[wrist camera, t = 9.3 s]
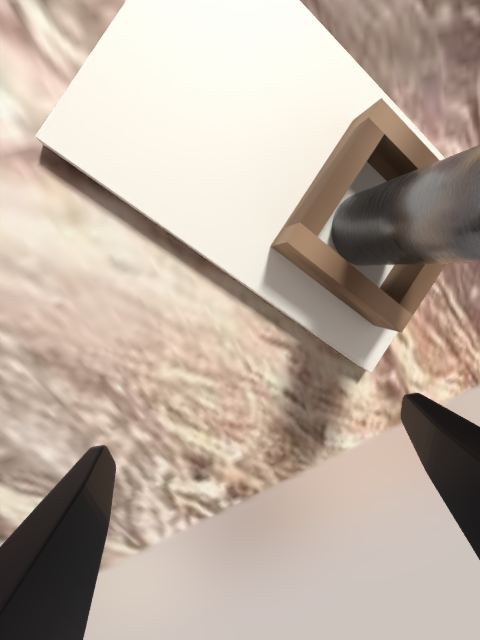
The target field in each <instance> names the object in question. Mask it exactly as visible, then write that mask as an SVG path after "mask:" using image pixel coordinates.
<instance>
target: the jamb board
mask: <svg viewBox="0 0 480 640" xmlns="http://www.w3.org/2000/svg"><path fill="white" fill-rule="evenodd" d="M381 98H382V99H383V100H384V101H385V102H386V103H387V104H388V105H389V106H390V108H391V109H392V110H393V111H394V112H395V113H396V114H397V115H398V116H399V117H400V118H401V119H402V120H403V122H404V123H405V124H406V125H407V126H408V127H409V128H410V129H411V130H412V131H413V132H414V133H415V134H416V135H417V137H418V138H419V139H420V140H421V141H422V142H423V143H424V144H425V145H426V146H427V147H428V148H429V149H430V151H431V152H432V153H433V154H434V155H435V156H436V157H437V158H438V159H439V160H443V159H445V158H444V157H443V156H442V155H441V153H440V152H439V151H438V150H437V149H436V148H435V147H434V146H433V145H432V144H431V143H430V142H429V140H428V139H427V138H426V137H425V136H424V135H423V134H422V133H421V132H420V131H419V130H418V128H417V127H416V126H415V125H414V124H413V123H412V122H411V121H410V120H409V119H408V118H407V117H406V115H405V114H404V113H403V112H402V111H401V110H400V109H399V108H398V107H397V106H396V105H395V104H394V102H393V101H392V100H391V99H390V98H389V97H388V96H387V95H386V94H385V93H384V92H383V91H382V89H381V88H380V87H379V86H378V85H377V84H376V83H375V82H374V81H373V80H372V79H371V77H370V76H369V75H368V74H367V73H366V72H365V71H364V70H363V69H362V68H361V67H360V66H359V64H358V63H357V62H356V61H355V60H354V59H353V58H352V57H351V56H350V55H349V54H348V53H347V51H346V50H345V49H344V48H343V47H342V46H341V45H340V44H339V43H338V42H337V41H336V40H335V38H334V37H333V36H332V35H331V34H330V33H329V32H328V31H327V30H326V29H325V28H324V26H323V25H322V24H321V23H320V22H319V21H318V20H317V19H316V18H315V17H314V16H313V15H312V13H311V12H310V11H309V10H308V9H307V8H306V7H305V6H304V5H303V4H302V3H301V2H300V0H126V2H125V3H124V5H123V6H122V8H121V9H120V11H119V12H118V14H117V15H116V17H115V18H114V20H113V21H112V23H111V24H110V26H109V27H108V29H107V30H106V32H105V33H104V35H103V36H102V38H101V39H100V41H99V42H98V44H97V45H96V47H95V48H94V50H93V51H92V52H91V54H90V55H89V57H88V58H87V60H86V61H85V63H84V64H83V66H82V67H81V69H80V70H79V72H78V73H77V75H76V76H75V78H74V79H73V81H72V82H71V84H70V85H69V87H68V88H67V90H66V91H65V93H64V94H63V96H62V97H61V99H60V100H59V102H58V103H57V105H56V106H55V108H54V109H53V110H52V112H51V113H50V115H49V116H48V118H47V119H46V121H45V122H44V124H43V125H42V127H41V128H40V130H39V131H38V133H37V134H36V136H35V137H36V138H37V139H38V140H39V141H40V142H41V143H42V144H43V145H44V146H46V147H47V148H48V149H50V150H51V151H53V152H54V153H56V154H57V155H58V156H60V157H61V158H63V159H64V160H66V161H67V162H68V163H70V164H71V165H73V166H74V167H76V168H77V169H78V170H80V171H81V172H83V173H84V174H85V175H87V176H88V177H90V178H91V179H93V180H94V181H95V182H97V183H98V184H100V185H101V186H103V187H104V188H105V189H107V190H108V191H110V192H111V193H113V194H114V195H115V196H117V197H118V198H120V199H121V200H123V201H124V202H125V203H127V204H128V205H130V206H131V207H133V208H134V209H135V210H137V211H138V212H140V213H141V214H142V215H144V216H145V217H147V218H148V219H150V220H151V221H152V222H154V223H155V224H157V225H158V226H160V227H161V228H162V229H164V230H165V231H167V232H168V233H170V234H171V235H172V236H174V237H175V238H177V239H178V240H180V241H181V242H182V243H184V244H185V245H187V246H188V247H189V248H191V249H192V250H194V251H195V252H197V253H198V254H199V255H201V256H202V257H204V258H205V259H207V260H208V261H209V262H211V263H212V264H214V265H215V266H217V267H218V268H219V269H221V270H222V271H224V272H225V273H227V274H228V275H229V276H231V277H232V278H234V279H235V280H237V281H238V282H239V283H241V284H242V285H244V286H245V287H246V288H248V289H249V290H251V291H252V292H254V293H255V294H256V295H258V296H259V297H261V298H262V299H264V300H265V301H266V302H268V303H269V304H271V305H272V306H274V307H275V308H276V309H278V310H279V311H281V312H282V313H284V314H285V315H286V316H288V317H289V318H291V319H292V320H293V321H295V322H296V323H298V324H299V325H301V326H302V327H303V328H305V329H306V330H308V331H309V332H311V333H312V334H313V335H315V336H316V337H318V338H319V339H321V340H322V341H323V342H325V343H326V344H328V345H329V346H331V347H332V348H333V349H335V350H336V351H338V352H339V353H341V354H342V355H343V356H345V357H346V358H348V359H349V360H350V361H352V362H353V363H355V364H356V365H358V366H359V367H360V368H362V369H364V370H366V371H368V372H370V373H371V372H372V371H373V369H374V368H375V366H376V365H377V363H378V362H379V360H380V358H381V357H382V355H383V354H384V352H385V351H386V349H387V348H388V346H389V344H390V343H391V341H392V340H393V338H394V337H395V335H396V334H397V331H393V330H389V329H385V328H381V327H377V326H374V325H373V324H371V323H370V322H369V321H367V320H366V319H365V318H363V317H362V316H361V315H359V314H358V313H357V312H356V311H354V310H353V309H352V308H350V307H349V306H348V305H346V304H345V303H344V302H343V301H341V300H340V299H339V298H337V297H336V296H335V295H333V294H332V293H331V292H330V291H328V290H327V289H326V288H324V287H323V286H322V285H320V284H319V283H318V282H317V281H315V280H314V279H313V278H311V277H310V276H309V275H307V274H306V273H305V272H304V271H302V270H301V269H300V268H298V267H297V266H296V265H294V264H293V263H292V262H291V261H289V260H288V259H287V258H285V257H284V256H283V255H281V254H280V253H279V252H278V251H276V250H275V249H274V248H272V247H271V244H272V243H273V241H274V240H275V238H276V237H277V235H278V234H279V232H280V231H281V229H282V228H283V226H284V224H285V223H286V221H287V220H288V218H289V217H290V215H291V214H292V212H293V211H294V209H295V208H296V206H297V205H298V203H299V202H300V200H301V199H302V197H303V196H304V194H305V192H306V191H307V189H308V188H309V186H310V185H311V183H312V182H313V180H314V179H315V177H316V176H317V174H318V173H319V171H320V170H321V168H322V167H323V165H324V163H325V162H326V160H327V159H328V157H329V156H330V154H331V153H332V151H333V150H334V148H335V147H336V145H337V144H338V142H339V141H340V139H341V138H342V136H343V135H344V133H345V131H346V130H347V128H348V127H349V125H350V124H351V122H352V121H353V120H354V119H355V118H356V117H358V116H359V115H360V114H362V113H363V112H364V111H365V110H367V109H368V108H369V107H371V106H372V105H373V104H374V103H376V102H377V101H378V100H379V99H381ZM384 182H387V181H386V180H385V179H384V178H383V177H382V176H381V175H380V174H379V173H378V172H377V171H376V170H375V169H374V168H373V167H372V166H371V165H370V164H369V163H368V162H366V163H365V165H364V166H363V168H362V169H361V171H360V172H359V174H358V175H357V177H356V178H355V180H354V181H353V183H352V185H351V186H350V188H349V189H348V191H347V192H346V194H345V195H344V197H343V198H342V200H341V201H340V203H339V204H338V206H337V207H336V209H335V211H334V212H333V214H332V215H331V217H330V218H329V220H328V221H327V223H326V224H325V226H324V227H323V229H322V230H321V232H320V233H319V235H318V238H320V239H321V240H322V241H323V242H324V243H326V244H327V245H328V246H329V247H330V248H332V249H333V250H334V251H335V252H337V250H336V248H335V246H334V243H333V239H332V221H333V217H334V215H335V212H336V210H337V209H338V207H339V206H340V204H341V203H342V202H343V201H344V200H345V199H347V198H348V197H350V196H351V195H354V194H356V193H359V192H361V191H364V190H366V189H369V188H371V187H374V186H376V185H379V184H382V183H384ZM337 253H338V252H337ZM338 254H339V253H338ZM339 255H340V254H339ZM350 264H351V263H350ZM351 265H352V266H354V267H355V268H356V269H357V270H358V271H360V272H361V273H362V274H363V275H364V276H366V277H367V278H368V279H369V280H371V281H372V282H373V283H374V284H375V285H377V286H378V287H379V288H380V286H381V285H382V283H383V282H384V280H385V279H386V277H387V276H388V274H389V272H390V271H391V269H392V268H393V266H394V265H369V266H359V265H354V264H351Z"/></svg>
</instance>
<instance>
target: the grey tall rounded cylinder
mask: <svg viewBox="0 0 480 640" xmlns="http://www.w3.org/2000/svg"><path fill="white" fill-rule="evenodd" d="M332 239H333V243H334V246H335V248H336V250H337V252H338V253H339V254H340V256H341V257H343V258H344V259H345V260H346V261H347V262H349V263H351V264H354V265H359V266H369V265H409V264H448V263H480V145H479V146H476V147H474V148H471V149H469V150H466V151H463V152H461V153H458V154H456V155H453V156H451V157H448V158H446V159H443V160H440V161H438V162H435V163H433V164H430V165H428V166H425V167H423V168H420V169H417V170H415V171H412V172H410V173H407V174H405V175H402V176H399V177H397V178H394V179H392V180H389V181H387V182H384V183H382V184H379V185H376V186H374V187H371V188H369V189H366V190H364V191H361V192H359V193H356V194H354V195H351V196H350V197H348V198H347V199H345V200H344V201H343V202H342V203H341V204H340V206H339V207H338V209H337V210H336V212H335V215H334V217H333V221H332Z"/></svg>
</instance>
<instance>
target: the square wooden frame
mask: <svg viewBox="0 0 480 640" xmlns="http://www.w3.org/2000/svg"><path fill="white" fill-rule="evenodd" d="M438 161H440V160H439V159H438V158H437V157H436V156H435V155H434V154H433V153H432V152H431V151H430V149H429V148H428V147H427V146H426V145H425V144H424V143H423V142H422V141H421V140H420V139H419V138H418V137H417V135H416V134H415V133H414V132H413V131H412V130H411V129H410V128H409V127H408V126H407V125H406V124H405V123H404V122H403V120H402V119H401V118H400V117H399V116H398V115H397V114H396V113H395V112H394V111H393V110H392V109H391V108H390V106H389V105H388V104H387V103H386V102H385V101H384V100H383V99H382V98H381V99H379V100H378V101H377V102H376V103H374V104H373V105H372V106H371V107H369V108H368V109H367V110H365V111H364V112H363V113H362V114H360V115H359V116H358V117H356V118H355V119H354V120H353V121H352V122H351V124H350V125H349V127H348V128H347V130H346V131H345V133H344V135H343V136H342V138H341V139H340V141H339V142H338V144H337V145H336V147H335V148H334V150H333V151H332V153H331V154H330V156H329V157H328V159H327V160H326V162H325V163H324V165H323V167H322V168H321V170H320V171H319V173H318V174H317V176H316V177H315V179H314V180H313V182H312V183H311V185H310V186H309V188H308V189H307V191H306V192H305V194H304V196H303V197H302V199H301V200H300V202H299V203H298V205H297V206H296V208H295V209H294V211H293V212H292V214H291V215H290V217H289V218H288V220H287V221H286V223H285V224H284V226H283V228H282V229H281V231H280V232H279V234H278V235H277V237H276V238H275V240H274V241H273V243H272V244H271V247H272V248H274V249H275V250H276V251H278V252H279V253H280V254H281V255H283V256H284V257H285V258H287V259H288V260H289V261H291V262H292V263H293V264H294V265H296V266H297V267H298V268H300V269H301V270H302V271H304V272H305V273H306V274H307V275H309V276H310V277H311V278H313V279H314V280H315V281H317V282H318V283H319V284H320V285H322V286H323V287H324V288H326V289H327V290H328V291H330V292H331V293H332V294H333V295H335V296H336V297H337V298H339V299H340V300H341V301H343V302H344V303H345V304H346V305H348V306H349V307H350V308H352V309H353V310H354V311H356V312H357V313H358V314H359V315H361V316H362V317H363V318H365V319H366V320H367V321H369V322H370V323H371V324H373V325H374V326H377V327H381V328H385V329H389V330H393V331H397V332H402V331H403V330H404V328H405V327H406V325H407V324H408V322H409V320H410V319H411V317H412V316H413V314H414V313H415V311H416V310H417V308H418V307H419V305H420V303H421V302H422V300H423V299H424V297H425V296H426V294H427V293H428V291H429V290H430V288H431V286H432V285H433V283H434V282H435V280H436V279H437V277H438V276H439V274H440V272H441V271H442V269H443V268H444V266H445V265H446V264H409V265H394V266H393V268H392V269H391V271H390V272H389V274H388V276H387V277H386V279H385V280H384V282H383V283H382V285H381V286H380V288H379V287H378V286H377V285H375V284H374V283H373V282H372V281H371V280H369V279H368V278H367V277H366V276H364V275H363V274H362V273H361V272H360V271H358V270H357V269H356V268H355V267H354V266H352V265H351V264H350V263H349V262H347V261H346V260H345V259H344V258H343V257H341V256H340V255H339V254H338V253H337V252H335V251H334V250H333V249H332V248H330V247H329V246H328V245H327V244H326V243H324V242H323V241H322V240H321V239H320V238H318V235H319V233H320V232H321V230H322V229H323V227H324V226H325V224H326V223H327V221H328V220H329V218H330V217H331V215H332V214H333V212H334V211H335V209H336V207H337V206H338V204H339V203H340V201H341V200H342V198H343V197H344V195H345V194H346V192H347V191H348V189H349V188H350V186H351V185H352V183H353V181H354V180H355V178H356V177H357V175H358V174H359V172H360V171H361V169H362V168H363V166H364V165H365V163H366V162H368V163H369V164H370V165H371V166H372V167H373V168H374V169H375V170H376V171H377V172H378V173H379V174H380V175H381V176H382V177H383V178H384V179H385V180H386V181H389V180H392V179H394V178H397V177H399V176H402V175H405V174H407V173H410V172H412V171H415V170H417V169H420V168H423V167H425V166H428V165H430V164H433V163H435V162H438Z"/></svg>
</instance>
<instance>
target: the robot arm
mask: <svg viewBox="0 0 480 640" xmlns="http://www.w3.org/2000/svg"><path fill="white" fill-rule="evenodd" d="M401 420H402V423H403V425H404V427H405V429H406V431H407V433H408V435H409V437H410V440H411V442H412V443H413V446H414V448H415V450H416V452H417V454H418V456H419V458H420V461H421V463H422V464H423V466H424V468H425V471H426V472H427V474H428V476H429V477H430V479H431V481H432V482H433V484H434V486H435V487H436V489H437V490H438V492H439V494H440V496H441V497H442V499H443V500H444V502H445V504H446V505H447V507H448V509H449V510H450V512H451V514H452V515H453V517H454V519H455V520H456V522H457V523H458V525H459V527H460V528H461V530H462V532H463V533H464V535H465V537H466V538H467V540H468V541H469V543H470V545H471V546H472V548H473V550H474V551H475V553H476V555H477V556H478V558H479V560H480V427H479V426H477V425H475V424H474V423H472V422H470V421H468V420H467V419H465V418H463V417H461V416H459V415H458V414H456V413H454V412H452V411H450V410H449V409H447V408H445V407H443V406H441V405H440V404H438V403H436V402H434V401H433V400H431V399H429V398H427V397H425V396H424V395H422V394H420V393H412V394H406V395H404V397H403V400H402V407H401ZM115 473H116V464H115V461H114V459H113V457H112V455H111V453H110V451H109V450H108V448H107V446H105V445H101V446H95V447H91V448H90V449H89V450H88V451H87V452H86V453H85V454H84V455H83V456H82V458H81V459H80V460H79V461H78V462H77V463H76V464H75V465H74V466H73V467H72V469H71V470H70V471H69V472H68V473H67V474H66V475H65V476H64V477H63V478H62V479H61V481H60V482H59V483H58V484H57V485H56V486H55V487H54V488H53V489H52V490H51V492H50V493H49V494H48V495H47V496H46V497H45V498H44V499H43V500H42V501H41V503H40V504H39V505H38V506H37V507H36V508H35V509H34V510H33V511H32V512H31V514H30V515H29V516H28V517H27V518H26V519H25V520H24V521H23V522H22V523H21V525H20V526H19V527H18V528H17V529H16V530H15V531H14V532H13V533H12V534H11V536H10V537H9V538H8V539H7V540H6V541H5V542H4V543H3V544H2V545H1V546H0V640H83V637H84V633H85V629H86V624H87V620H88V615H89V611H90V606H91V602H92V597H93V593H94V589H95V584H96V580H97V576H98V571H99V567H100V563H101V558H102V554H103V549H104V545H105V540H106V536H107V532H108V527H109V521H110V514H111V506H112V498H113V490H114V482H115Z"/></svg>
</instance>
